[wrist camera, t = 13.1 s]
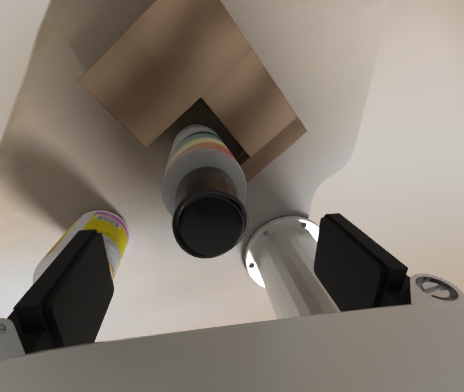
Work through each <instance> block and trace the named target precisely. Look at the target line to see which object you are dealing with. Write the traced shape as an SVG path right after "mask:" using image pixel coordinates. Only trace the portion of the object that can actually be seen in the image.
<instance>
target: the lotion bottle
mask: <svg viewBox="0 0 464 392" xmlns="http://www.w3.org/2000/svg"><path fill="white" fill-rule="evenodd" d="M246 194H247V184H246V178H245V175H244V173H243V171H242V169H241V167H240V165H239V164H238V162H237V161H236V159H235V158H234V157H233V155H232V154H231V153H230V151H229V150H228V148H227V147H226V146H225V144H224V143H223V141H222V140H221V139H220V137H219V136H218V135H217V133H216V132H215V131H214V130H212V129H211V128H209V127H208V126H205V125H202V124H192V125H189V126H186V127H185V128H183V129H182V130H181V131H180V132H179V133H178V134H177V136H176V138H175V140H174V143H173V146H172V149H171V153H170V156H169V159H168V163H167V166H166V169H165V173H164V177H163V181H162V197H163V201H164V204H165V206H166V208H167V210H168V211H169V213H170V214H171V215H172V216H173V220H172V227H173V233H174V236H175V239H176V241H177V243H178V244H179V246H180V247H181V248H182V249H183V250H184V251H185V252H187V253H188V254H190V255H192V256H194V257H198V258H213V257H217V256H220V255H222V254H224V253H226V252H228V251H229V250H231V249H232V248H233V247H234V246H235V245H236V244H237V243H238V242H239V241H240V240H241V239H242V237H243V236H244V234H245V232H246V230H247V227H248V220H249V218H248V212H247V209H246V207H245V205H244V202H245V199H246Z"/></svg>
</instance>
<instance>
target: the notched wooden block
mask: <svg viewBox="0 0 464 392" xmlns="http://www.w3.org/2000/svg"><path fill="white" fill-rule="evenodd" d="M78 82H79V83H80V84H81V85H82V86H83V87H84V88H86V89H87V90H88V91H89V92H90V93H91V94H92V95H93V96H94V97H95V98H96V99H97V100H98V101H99V102H100V103H101V104H102V105H103V106H104V107H105V108H106V109H107V110H108V111H109V112H110V113H111V114H112V115H113V116H114V117H115V118H116V119H117V120H118V121H119V122H120V123H121V124H122V125H123V126H124V127H125V128H126V129H127V130H128V131H129V132H130V133H131V134H132V135H133V136H135V137H136V138H137V139H138V140H139V141H140V142H141V143H142V144H143V145H144V146H145V147H146V148H147V147H148V146H149V145H150V144H151V143H152V142H153V141H154V140H155V139H156V138H157V137H158V136H160V135H161V134H162V133H163V132H164V131H165V130H166V129H167V128H168V127H169V126H170V125H171V124H172V123H174V122H175V121H176V120H177V119H178V118H179V117H180V116H181V115H182V114H183V113H184V112H185V111H187V110H188V109H189V108H190V107H191V106H192V105H193V104H194V103H195V102H196V101H197V100H198V99H199V98H201V99H202V100H203V101H204V102H205V104H206V105H207V106H208V107H209V108H210V110H211V111H212V112H213V113H214V115H215V116H216V117H217V118H218V119H219V121H220V122H221V123H222V124H223V125H224V127H225V128H226V129H227V130H228V132H229V133H230V134H231V135H232V136H233V138H234V139H235V140H236V141H237V142H238V144H239V145H240V146H241V147H242V149H243V150H242V151H241V152H240V153H239V154H238V155H237V156H235V157H234V158H235V159H236V161H237V162H238V164H239V165H240V167H241V169H242V171H243V173H244V175H245V178H246V183H247V182H248V181H249V180H250V179H251V178H252V177H254V176H255V175H256V174H257V173H258V172H260V171H261V170H262V169H263V168H264V167H266V166H267V165H268V164H269V163H270V162H272V161H273V160H274V159H275V158H276V157H278V156H279V155H280V154H281V153H282V152H283V151H285V150H286V149H287V148H288V147H289V146H291V145H292V144H293V143H294V142H295V141H297V140H298V139H299V138H300V137H301V136H303V135H304V134H305V133H306V132H307V130H306V129H305V127H304V126H303V124H302V123H301V121H300V120H299V118H298V117H297V115H296V114H295V112H294V111H293V109H292V108H291V106H290V105H289V103H288V102H287V100H286V99H285V97H284V96H283V94H282V93H281V91H280V90H279V88H278V87H277V85H276V84H275V82H274V81H273V79H272V78H271V76H270V75H269V73H268V72H267V70H266V69H265V67H264V66H263V64H262V63H261V61H260V60H259V58H258V57H257V55H256V54H255V52H254V51H253V49H252V48H251V46H250V45H249V43H248V42H247V40H246V39H245V37H244V36H243V34H242V33H241V31H240V30H239V28H238V27H237V25H236V24H235V22H234V21H233V19H232V18H231V16H230V15H229V13H228V12H227V10H226V9H225V7H224V6H223V4H222V3H221V1H220V0H156V1H155V2H154V3H153V4H152V5H151V6H150V7H149V8H148V9H147V10H146V11H145V12H144V13H143V14H142V15H141V16H140V17H139V18H138V19H137V20H136V21H135V22H134V23H133V24H132V25H131V27H130V28H129V29H128V30H127V31H126V32H125V33H124V34H123V35H122V36H121V37H120V38H119V39H118V40H117V41H116V42H115V43H114V44H113V45H112V46H111V47H110V48H109V49H108V50H107V51H106V52H105V53H104V54H103V55H102V56H101V57H100V58H99V59H98V60H97V61H96V63H95V64H94V65H93V66H92V67H91V68H90V69H89V70H88V71H87V72H86V73H85V74H84V75H83V76H82V77H81V78H80V79H79V80H78Z"/></svg>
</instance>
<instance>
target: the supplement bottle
mask: <svg viewBox="0 0 464 392" xmlns="http://www.w3.org/2000/svg"><path fill="white" fill-rule="evenodd" d="M92 229H96V230H97V232H98V233H100V232H101V233H102V235H103V239H104V244H105V248H106V253H107V258H108V262H109V267H110V271H111V276H112V281H113V279H114V276H115V273H116V271H117V268H118V266H119V263H120V261H121V258H122V256H123V253H124V251H125V248H126V245H127V243H128V240H129V230H128V227H127V225H126V223H125V222H124V221H123V220H122V219H121V218H120V217H119V216H118V215H116V214H114V213H112V212H109V211H104V210H95V211H90V212H87V213H85V214H83V215H82V216H80V217H79V218H78V219H77V220H76V221H75V222H74V223H73V225H72V226H71V227H70V228H69V229H68V230H67V232H66V233H65V234H64V235H63V236H62V237H61V238H60V240H59V241H58V242H57V243H56V244H55V246H54V247H53V248H52V249H51V250H50V251H49V252H48V254H47V255H46V256H45V257H44V258H43V259H42V260H41V262H40V263H39V264H38V266H37V267H36V269H35V272H34V276H33V284H34V283H35V282H36V281H37V279H38V278H39V277H40V276H41V275H42V274H43V272H44V271H45V270H46V269H47V268H48V266H49V265H50V264H51V263H52V262H53V261H54V259H55V258H56V257H57V256H58V255H59V253H60V252H61V251H62V250H63V249H64V248H65V246H66V245H67V244H68V243H69V242H70V240H71V239H72V238H73V237H74V236H75V234H76V233H77V232H78V231H79V230H92Z"/></svg>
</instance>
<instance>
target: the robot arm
mask: <svg viewBox="0 0 464 392" xmlns="http://www.w3.org/2000/svg"><path fill="white" fill-rule="evenodd" d="M245 264H246V268H247V271H248V273H249V275H250V276H251V278H252V279H253V280H254V281H255V282H256V283H257V284H259V285H261V286H262V287H265V288H266V291H267V293H268V296H269V298H270V301H271V304H272V306H273V309H274V311H275V314H276V316H277V320H269V321H261V322H253V323H245V324H237V325H229V326H221V327H212V328H204V329H196V330H188V331H180V332H172V333H164V334H156V335H149V336H141V337H133V338H125V339H118V340H110V341H102V342H94V341H95V339H96V336H97V334H98V331H99V329H100V326H101V324H102V321H103V319H104V316H105V314H106V311H107V309H108V306H109V304H110V301H111V299H112V296H113V292H114V286H113V281H112V276H111V271H110V267H109V262H108V258H107V253H106V248H105V244H104V239H103V235H102V233H101V232H100V233H98V232H97V230H96V229H92V230H79V231H78V232H77V233H76V234H75V236H74V237H73V238H72V239H71V240H70V242H69V243H68V244H67V245H66V246H65V248H64V249H63V250H62V251H61V252H60V253H59V255H58V256H57V257H56V258H55V259H54V261H53V262H52V263H51V264H50V265H49V266H48V268H47V269H46V270H45V271H44V272H43V274H42V275H41V276H40V277H39V278H38V279H37V281H36V282H35V283H34V284H33V285H32V287H31V288H30V289H29V290H28V291H27V293H26V294H25V295H24V296H23V297H22V298H21V300H20V301H19V302H18V303H17V304H16V306H15V307H14V308H13V309H14V311H13V312H12V313H11V314H10V315H9V317H8V318H7V319H5V318H0V392H464V294H463V293H462V291H461V290H459V289H458V288H457V287H456V286H455V285H453V284H451V283H450V282H448V281H446V280H444V279H442V278H439V277H436V276H433V275H429V274H415V275H413V276H411V278H410V277H408V276H407V275H406V273H407V270H408V268H407V267H406V266H405V265H404V264H402V263H401V262H400V261H399V260H397V259H396V258H395V257H394V256H392V255H391V254H390V253H389V252H387V251H386V250H385V249H383V248H382V247H381V246H380V245H379V244H377V243H376V242H375V241H373V240H372V239H371V238H370V237H368V236H367V235H366V234H365V233H363V232H362V231H361V230H360V229H358V228H357V227H356V226H355V225H353V224H352V223H351V222H349V221H348V220H347V219H346V218H344V217H343V216H342V215H341V214H339V213H337V214H326V215H325V216H324V217H323V218H321V221H320V227H318V226H317V225H316V224H315V223H314V222H312V221H311V220H309V219H307V218H304V217H300V216H285V217H280V218H277V219H274V220H272V221H270V222H268V223H266V224H265V225H263V226H262V227H261V228H259V229H258V230H257V231H256V232H255V233H254V234H253V236H252V237H251V239H250V240H249V242H248V245H247V247H246V251H245Z"/></svg>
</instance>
